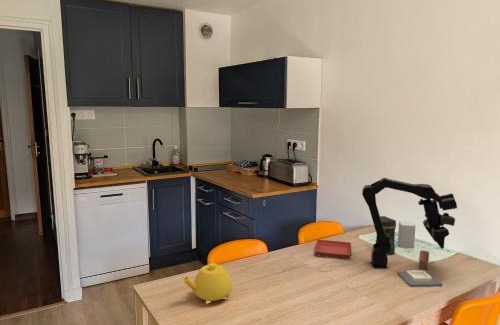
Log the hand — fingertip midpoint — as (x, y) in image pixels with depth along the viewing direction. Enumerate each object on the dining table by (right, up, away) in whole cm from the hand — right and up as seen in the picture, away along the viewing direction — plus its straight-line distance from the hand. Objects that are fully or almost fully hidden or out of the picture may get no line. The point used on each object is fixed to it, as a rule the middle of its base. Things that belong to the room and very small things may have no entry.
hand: (439, 245), depth 174 cm
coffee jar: (-15, -9, +27) cm, 32 cm away
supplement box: (-1, -8, +35) cm, 36 cm away
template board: (-12, -14, -5) cm, 19 cm away
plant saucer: (-43, -10, +26) cm, 51 cm away
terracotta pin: (-4, -12, +6) cm, 15 cm away
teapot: (-103, -17, -21) cm, 107 cm away
